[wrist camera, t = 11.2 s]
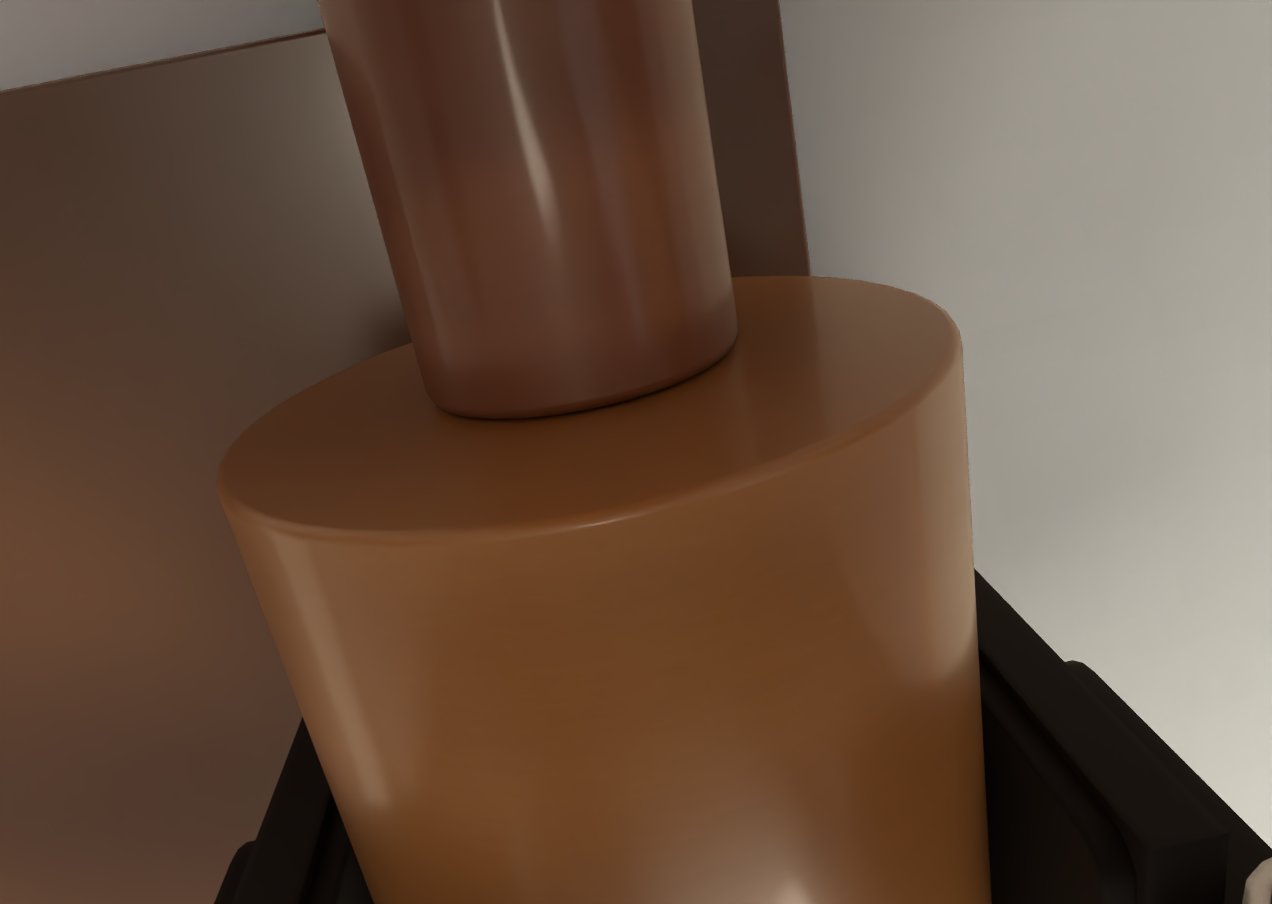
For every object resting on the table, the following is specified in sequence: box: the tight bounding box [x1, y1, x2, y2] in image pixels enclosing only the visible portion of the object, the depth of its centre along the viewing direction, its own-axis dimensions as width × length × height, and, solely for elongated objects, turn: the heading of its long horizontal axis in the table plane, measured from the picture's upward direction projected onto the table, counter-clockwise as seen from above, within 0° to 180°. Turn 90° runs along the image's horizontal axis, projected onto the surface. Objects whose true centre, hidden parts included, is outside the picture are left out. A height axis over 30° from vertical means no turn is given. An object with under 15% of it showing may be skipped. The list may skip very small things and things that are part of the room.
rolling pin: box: [217, 0, 992, 904], centre depth 8 cm, size 15×5×5 cm, turn 10°
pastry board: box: [0, 0, 811, 904], centre depth 11 cm, size 15×17×1 cm
